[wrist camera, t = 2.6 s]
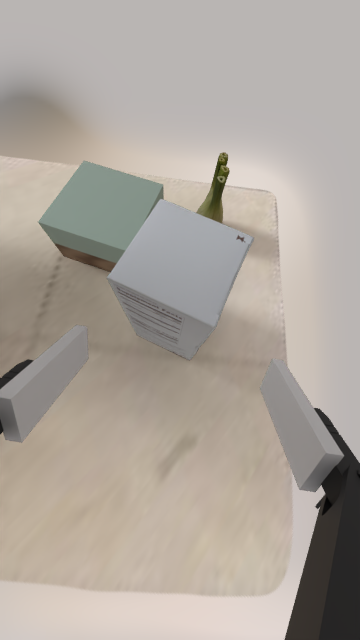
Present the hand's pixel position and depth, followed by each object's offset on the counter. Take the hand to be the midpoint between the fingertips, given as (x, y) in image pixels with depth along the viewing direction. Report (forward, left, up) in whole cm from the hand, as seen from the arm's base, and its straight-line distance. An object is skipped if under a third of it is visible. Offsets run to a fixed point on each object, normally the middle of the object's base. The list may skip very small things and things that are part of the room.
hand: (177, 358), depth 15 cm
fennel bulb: (-3, +27, -16) cm, 31 cm away
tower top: (-17, +19, -12) cm, 28 cm away
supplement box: (-2, +8, -16) cm, 18 cm away
